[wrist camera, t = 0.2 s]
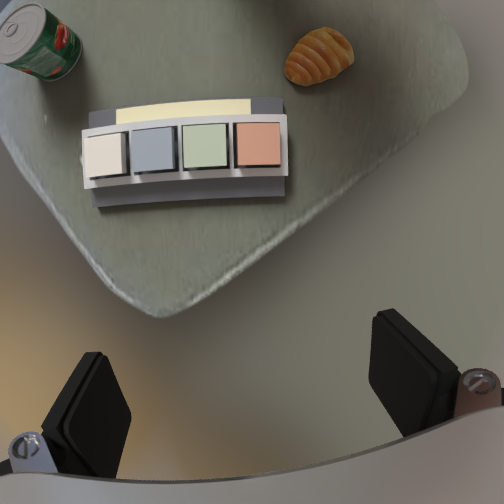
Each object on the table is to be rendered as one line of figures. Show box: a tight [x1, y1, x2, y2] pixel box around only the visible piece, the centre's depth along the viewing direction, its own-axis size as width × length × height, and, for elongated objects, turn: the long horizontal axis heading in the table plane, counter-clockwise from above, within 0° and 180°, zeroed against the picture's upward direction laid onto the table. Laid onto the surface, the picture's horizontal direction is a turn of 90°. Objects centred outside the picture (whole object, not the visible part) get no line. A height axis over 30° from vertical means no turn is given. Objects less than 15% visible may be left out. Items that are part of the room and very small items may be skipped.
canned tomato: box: [0, 2, 82, 81], centre depth 25 cm, size 8×8×11 cm
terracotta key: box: [236, 123, 281, 165], centre depth 33 cm, size 4×4×2 cm
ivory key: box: [84, 133, 127, 178], centre depth 31 cm, size 4×4×2 cm
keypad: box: [82, 97, 288, 207], centre depth 35 cm, size 12×24×4 cm, turn 91°
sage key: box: [183, 124, 227, 168], centre depth 32 cm, size 4×4×2 cm
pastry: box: [284, 27, 354, 86], centre depth 33 cm, size 9×7×4 cm
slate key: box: [131, 127, 175, 172], centre depth 32 cm, size 4×4×2 cm
